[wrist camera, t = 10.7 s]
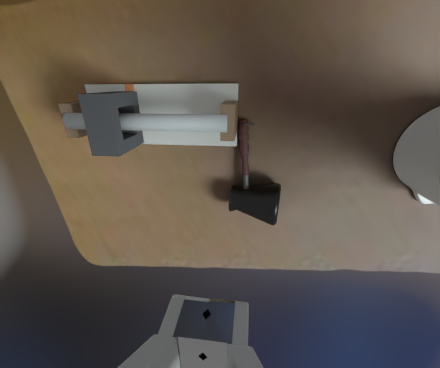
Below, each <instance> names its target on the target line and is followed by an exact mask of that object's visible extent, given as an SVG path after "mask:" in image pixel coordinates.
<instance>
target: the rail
mask: <svg viewBox="0 0 440 368" xmlns="http://www.w3.org/2000/svg"><path fill="white" fill-rule="evenodd" d="M84 85H85V89H86V93H98V92H112V91H137V96H138V103H139V110H140V113H119V118H120V123H121V129H122V130H135V131H143V138H144V143H142V144H166V145H204V146H237V129H238V87H239V83H233V84H84ZM58 105H59V108H60V112H61V116H62V119H63V124H64V126H65V130H66V134H67V137H69V138H80V137H83V136H86V135H87V131H86V127H85V123H84V119H83V115H82V111H81V107H80V102H79V101H76V102H68V103H59V104H58Z"/></svg>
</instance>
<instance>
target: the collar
mask: <svg viewBox="0 0 440 368" xmlns="http://www.w3.org/2000/svg"><path fill="white" fill-rule="evenodd" d="M78 98H79V102H80V107H81V111H82V115H83V119H84V123H85V127H86V131H87V136H88V140H89V144H90V148H91V152H92V156H121V155H123V154H124V153H126V152H128V151H130V150H132V149H133V148H135V147H137V146H139V145H140V144H142V143H144V138H143V131H135V130H122V129H121V123H120V118H119V113H140V110H139V103H138V96H137V91H112V92H98V93H84V94H78Z"/></svg>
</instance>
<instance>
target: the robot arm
mask: <svg viewBox="0 0 440 368" xmlns="http://www.w3.org/2000/svg"><path fill="white" fill-rule="evenodd" d="M393 165H394V170H395V172H396V174H397V176H398V178H399V179H400V180H401V181H402V182H403V183H404V184H406V185H407V186H409V187H410V188H411V189H412V191H413V193H414V196H415V198H416V199H417V200H418V201H419V202H421V203H423V204H432V203H435V204H437V205H439V206H440V106H438V107H437V108H435V109H433V110H431V111H429V112H427V113H425V114H424V115H422V116H421V117H419V118H418V119H417V120H415V121H414V122H413V123H412V124H411V125H410V126H409V127H408V128H407V129H406V130H405V132H404V133H403V134H402V136H401V137H400V139H399V141H398V143H397V145H396V147H395V151H394V155H393ZM118 368H263V366H262V365H261V363H260V361H259V359H258V357H257V355H256V354H255V352H254V350H253V348H252V347H249V346H248V302H238V301H232V300H221V299H205V298H198V297H190V296H182V295H173V297H172V298H171V301H170V303H169V306H168V309H167V312H166V314H165V317H164V319H163V323H162V325H161V328H160V330H159V333H158V335H153V336H152V337H151V338H150V339H149V340H147V341H146V342H145V343H144V344H143V345H142V346H141V347H140V348H139V349H138V350H137V351H135V352H134V353H133V354H132V355H131V356H130V357H129V358H128V359H127V360H126V361H125V362H124V363H122V364H121V365H120V366H119V367H118Z"/></svg>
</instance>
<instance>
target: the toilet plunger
mask: <svg viewBox="0 0 440 368" xmlns="http://www.w3.org/2000/svg"><path fill="white" fill-rule="evenodd" d="M248 125H254V124H253V123H251V124H248V121H247V120H240V121H239V126H238V131H239V132H240V133H239V140H240V141H241V142H240V145H239V149H240V153H241V158H242V175H243V188H238V187H237V186H235V185H233V186H232V188H231V192H230V197H229V211H234V210H238V211H241V212H243V213H245V214H248V215H250V216H252V217H254V218H257V219H259V220H261V221H263V222H266V223H268V224H270V225H275V224H276V222H277V215H278V207H279V199H280V191H281V185H280V184H279V183H275V184H268V185H260V186H253V187H250V186H249V179H248V175H249V167H248V151H249V145H248V142H247V140H248V139H249V137H248V133H247V131H248V130H249V128H248Z"/></svg>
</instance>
